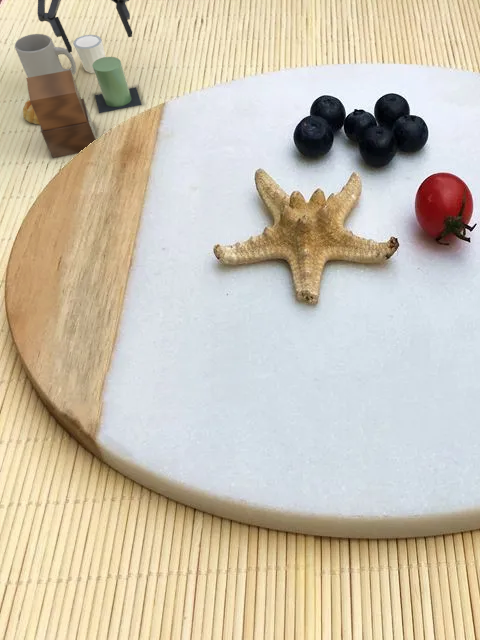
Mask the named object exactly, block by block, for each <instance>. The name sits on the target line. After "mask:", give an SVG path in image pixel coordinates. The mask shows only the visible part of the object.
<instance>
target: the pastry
mask: <svg viewBox="0 0 480 640" xmlns="http://www.w3.org/2000/svg"><path fill="white" fill-rule="evenodd" d="M22 117H23V119H24V120H25V121H26V122H28V123H29V124H34V125H35V126H36V125H40V123H39V120H38V118H37V116H36V114H35V111H34V109H33V107H32V105H31V102H30V99H28V100H27V101H25V103H24V105H23V107H22Z"/></svg>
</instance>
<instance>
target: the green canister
mask: <svg viewBox="0 0 480 640" xmlns="http://www.w3.org/2000/svg"><path fill="white" fill-rule="evenodd" d="M93 69H94V72H95V73H94V75H95V78H96V81H97V84H98V87H99V89H100V90H99V91H100V92H101V93H100V94H102V96H103V99H104V101H105V104H106V105H108V106H110V107H121V106H124V105H127V104H128V103H129V102H130V101H131V99H132V97H131V93H130V90H129V89H130V86H129V84H128V81H127V76H126V75H125V70H124V68H123V63H122V61H121V60H120V59H119V58H118V57H115V56H106V57H103V58H100V59H98V60H96V61H95V62H94V63H93Z"/></svg>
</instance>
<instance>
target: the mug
mask: <svg viewBox="0 0 480 640" xmlns="http://www.w3.org/2000/svg"><path fill="white" fill-rule="evenodd" d="M14 49H15V51H16V54H17V56H18V58H19V60H20V63H21V66H22V68H23V70H24V73H25V75H26V78H29V77H34V76H40V75H45V74H51V73H57V72H62V71H68V70H71V72H72V75H73V76H74V75H75V74H76V71H77V64H76V61H75V59H74V56H73V54H72V52H70V53H69V52H68V50H67V48H66V47H62V46H61V47H59V46H55V44H54V42H53V40H52V38H51V37H50V36H49V35H47V34H43V33H33V34H32V33H31V34H27V35H24V36H22V37H20V38H19V39H17V40H16V42H15V43H14ZM60 55H61V56H62V55H64V56H66V57H67V58H68V60H69V63H70V68H64V67H63V65H62V62H61V59H60V58H59V56H60Z"/></svg>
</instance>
